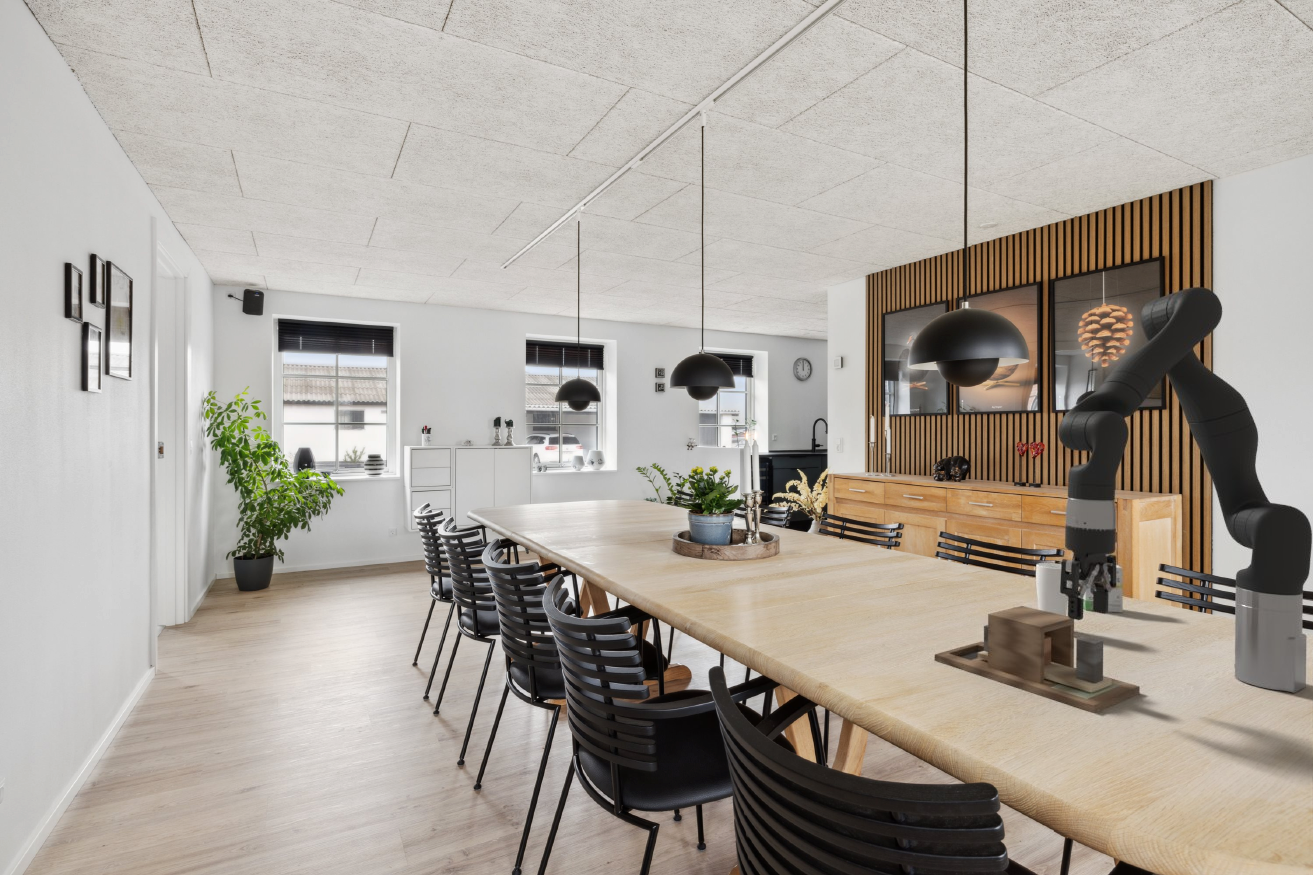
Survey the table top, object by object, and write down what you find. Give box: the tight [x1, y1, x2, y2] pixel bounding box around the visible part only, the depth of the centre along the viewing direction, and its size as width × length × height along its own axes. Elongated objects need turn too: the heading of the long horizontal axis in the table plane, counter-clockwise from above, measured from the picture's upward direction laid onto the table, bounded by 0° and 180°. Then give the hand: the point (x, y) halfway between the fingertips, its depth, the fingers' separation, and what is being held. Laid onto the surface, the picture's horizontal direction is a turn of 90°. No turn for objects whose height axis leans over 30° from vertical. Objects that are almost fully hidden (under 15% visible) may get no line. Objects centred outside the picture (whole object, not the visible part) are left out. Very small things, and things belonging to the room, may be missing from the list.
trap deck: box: [934, 605, 1141, 714], centre depth 129 cm, size 30×16×11 cm, turn 32°
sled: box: [978, 624, 1113, 693], centre depth 127 cm, size 21×7×8 cm, turn 32°
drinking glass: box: [1035, 562, 1069, 616], centre depth 159 cm, size 7×7×15 cm
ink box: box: [1083, 563, 1124, 613], centre depth 177 cm, size 9×5×12 cm, turn 73°
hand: (1088, 615), depth 120 cm, fingers open, 8 cm apart
